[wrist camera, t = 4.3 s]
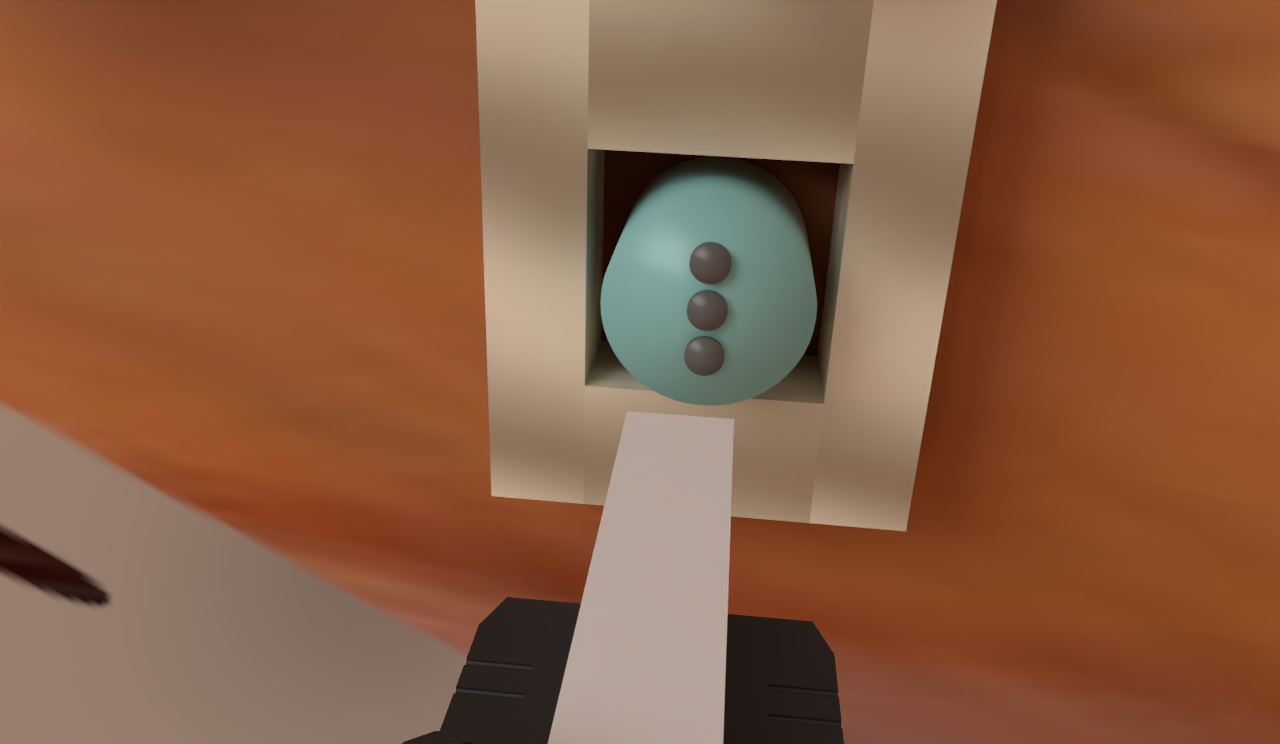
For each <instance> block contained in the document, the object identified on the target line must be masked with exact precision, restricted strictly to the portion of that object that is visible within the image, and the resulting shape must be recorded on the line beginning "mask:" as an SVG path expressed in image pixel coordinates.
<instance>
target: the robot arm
mask: <svg viewBox="0 0 1280 744" xmlns="http://www.w3.org/2000/svg"><path fill="white" fill-rule="evenodd" d="M733 437H734V419H726V418H713V417H700V416H687V415H673V414H660V413H647V412H633V411H627V413H626V417H625V421H624V425H623V430H622V434H621V438H620V442H619V446H618V451H617V455H616V459H615V463H614V467H613V472H612V476H611V480H610V484H609V488H608V493H607V497H606V501H605V505H604V509H603V514H602V518H601V522H600V526H599V530H598V535H597V539H596V543H595V547H594V551H593V556H592V560H591V564H590V568H589V572H588V577H587V581H586V585H585V589H584V593H583V598H582V602H581V604H578V603H566V602H555V601H544V600H533V599H522V598H511V597H507V598H506V599H505V600H504V601H503V602H502V603H501V604H500V605H499V606H498V607H497V608H496V609H495V610H494V611H493V612H492V613H491V614H490V615H489V616H488V617H487V618H485V619H484V620H483V621H482V622H481V623H480V624H479V626H478V629H477V632H476V634H475V637H474V640H473V643H472V645H471V648H470V651H469V653H468V656H467V662H466V665H464V667H463V670H462V673H461V675H460V678H459V681H458V683H457V686H456V693H455V694H453V697H452V699H451V702H450V705H449V708H448V710H447V713H446V716H445V718H444V721H443V724H442V726H441V729H440V731H434V732H431V733H429V734H426V735H423V736H420V737H417V738H414V739H411V740H408V741H405V742H404V743H402V744H844V741H843V732H842V728H841V713H840V704H839V698H838V685H837V676H836V666H835V657H834V653H833V652H832V650H831V649H830V647H829V646H828V644H827V643H826V641H825V640H824V638H823V637H822V635H821V634H820V632H819V631H818V629H817V628H816V626H815V625H814V623H813V622H810V621H799V620H788V619H776V618H765V617H754V616H743V615H732V614H728V585H729V556H730V526H731V496H732V466H733Z"/></svg>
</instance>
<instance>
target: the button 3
mask: <svg viewBox="0 0 1280 744" xmlns="http://www.w3.org/2000/svg"><path fill="white" fill-rule="evenodd" d="M600 303H601V317H602V322H603V327H604V330H605V333H606V336H607V339H608V342H609V344H610V346H611V348H612V350H613V352H614V353H615V355H616V356H617V358H618V359H619V361H620V362H621V363H622V365H623V366H624V367H625V368H626V369H627V370H628V372H629V373H630V374H632V375H633V376H634V377H635V378H636V379H637V380H638V381H639V382H641V383H642V384H644V385H645V386H647V387H648V388H649V389H651V390H653V391H655V392H657V393H659V394H660V395H662V396H665V397H668V398H670V399H673V400H676V401H680V402H683V403H687V404H694V405H706V406H716V405H726V404H732V403H736V402H741V401H744V400H747V399H750V398H752V397H755V396H757V395H759V394H761V393H763V392H765V391H767V390H768V389H770V388H771V387H773V386H774V385H776V384H777V383H779V382H780V381H781V380H782V379H783V378H784V377H786V376H787V375H788V374H789V373H790V372H791V370H792V369H793V368H794V367H795V366H796V365H797V363H798V362H799V360H800V359H801V357H802V356H803V354H804V353H805V351H806V349H807V347H808V345H809V343H810V340H811V337H812V334H813V331H814V327H815V322H816V316H817V297H816V288H815V282H814V275H813V269H812V262H811V256H810V250H809V243H808V237H807V230H806V226H805V222H804V218H803V216H802V213H801V211H800V208H799V206H798V204H797V203H796V201H795V199H794V197H793V196H792V195H791V193H790V192H789V191H788V189H787V188H786V187H785V186H784V185H783V184H782V183H781V182H780V181H779V180H778V179H777V178H776V177H774V176H773V175H772V174H770V173H769V172H768V171H766V170H764V169H762V168H761V167H759V166H757V165H755V164H752V163H750V162H747V161H744V160H740V159H737V158H732V157H723V156H707V157H700V158H695V159H691V160H687V161H684V162H682V163H679V164H677V165H674V166H672V167H671V168H669V169H667V170H666V171H664V172H662V173H661V174H660V175H658V176H657V177H656V178H655V179H653V180H652V181H651V182H650V183H649V184H648V185H647V186H646V188H645V189H644V190H643V191H642V193H641V194H640V195H639V197H638V198H637V200H636V202H635V204H634V205H633V207H632V209H631V212H630V214H629V217H628V219H627V221H626V224H625V226H624V229H623V231H622V234H621V236H620V238H619V241H618V243H617V246H616V248H615V250H614V253H613V255H612V258H611V260H610V263H609V265H608V268H607V270H606V273H605V276H604V280H603V284H602V289H601V300H600Z"/></svg>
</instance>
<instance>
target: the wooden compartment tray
mask: <svg viewBox="0 0 1280 744" xmlns="http://www.w3.org/2000/svg"><path fill="white" fill-rule="evenodd" d="M996 3H997V0H475V7H476V37H477V68H478V98H479V129H480V160H481V190H482V221H483V251H484V282H485V313H486V343H487V374H488V404H489V435H490V465H491V496H497V497H509V498H521V499H532V500H544V501H556V502H567V503H579V504H591V505H603V506H604V505H605V501H606V497H607V493H608V488H609V484H610V480H611V476H612V472H613V467H614V463H615V459H616V455H617V451H618V446H619V442H620V438H621V434H622V430H623V425H624V421H625V417H626V413H627V411H633V412H647V413H660V414H673V415H687V416H700V417H713V418H726V419H734V437H733V466H732V496H731V516H732V517H743V518H755V519H767V520H778V521H790V522H802V523H814V524H825V525H837V526H849V527H860V528H872V529H884V530H896V531H906V528H907V522H908V517H909V511H910V505H911V499H912V493H913V487H914V482H915V476H916V470H917V464H918V458H919V452H920V446H921V441H922V435H923V429H924V423H925V417H926V411H927V406H928V400H929V394H930V388H931V382H932V376H933V371H934V365H935V359H936V353H937V347H938V341H939V336H940V330H941V324H942V318H943V312H944V306H945V301H946V295H947V289H948V283H949V277H950V271H951V266H952V260H953V254H954V248H955V242H956V236H957V231H958V225H959V219H960V213H961V207H962V201H963V196H964V190H965V184H966V178H967V172H968V166H969V161H970V155H971V149H972V143H973V137H974V131H975V126H976V120H977V114H978V108H979V102H980V96H981V90H982V85H983V79H984V73H985V67H986V61H987V55H988V50H989V44H990V38H991V32H992V26H993V20H994V15H995V9H996ZM605 150H618V151H635V152H653V153H670V154H688V155H706V156H723V157H741V158H758V159H776V160H794V161H811V162H829V163H840V167H839V176H838V184H837V193H836V201H835V210H834V218H833V227H832V236H831V244H830V253H829V261H828V270H827V278H826V287H825V295H824V304H823V312H822V321H821V329H820V338H819V346H818V355H817V356H815V355H803V356H802V357H801V359H800V360H799V362H798V363H797V365H796V366H795V367H794V368H793V369H792V370H791V372H790V373H789V374H788V375H787V376H786V377H784V378H783V379H782V380H781V381H780V382H779V383H777V384H776V385H774V386H773V387H771V388H770V389H768V390H767V391H765V392H763V393H761V394H759V395H757V396H755V397H752V398H750V399H747V400H744V401H741V402H736V403H732V404H726V405H716V406H706V405H694V404H687V403H683V402H680V401H676V400H673V399H670V398H668V397H665V396H662V395H660V394H659V393H657V392H655V391H653V390H651V389H649V388H648V387H647V386H645V385H644V384H642V383H641V382H639V381H638V380H637V379H636V378H635V377H634V376H633V375H632V374H630V373H629V372H628V370H627V369H626V368H625V367H624V366H623V365H622V363H621V362H620V361H619V359H618V358H617V356H616V355H615V353H614V352H613V350H612V348H611V346H610V344H609V342H608V341H607V340H601V322H602V317H601V303H600V300H601V289H602V269H603V217H604V164H605Z"/></svg>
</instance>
